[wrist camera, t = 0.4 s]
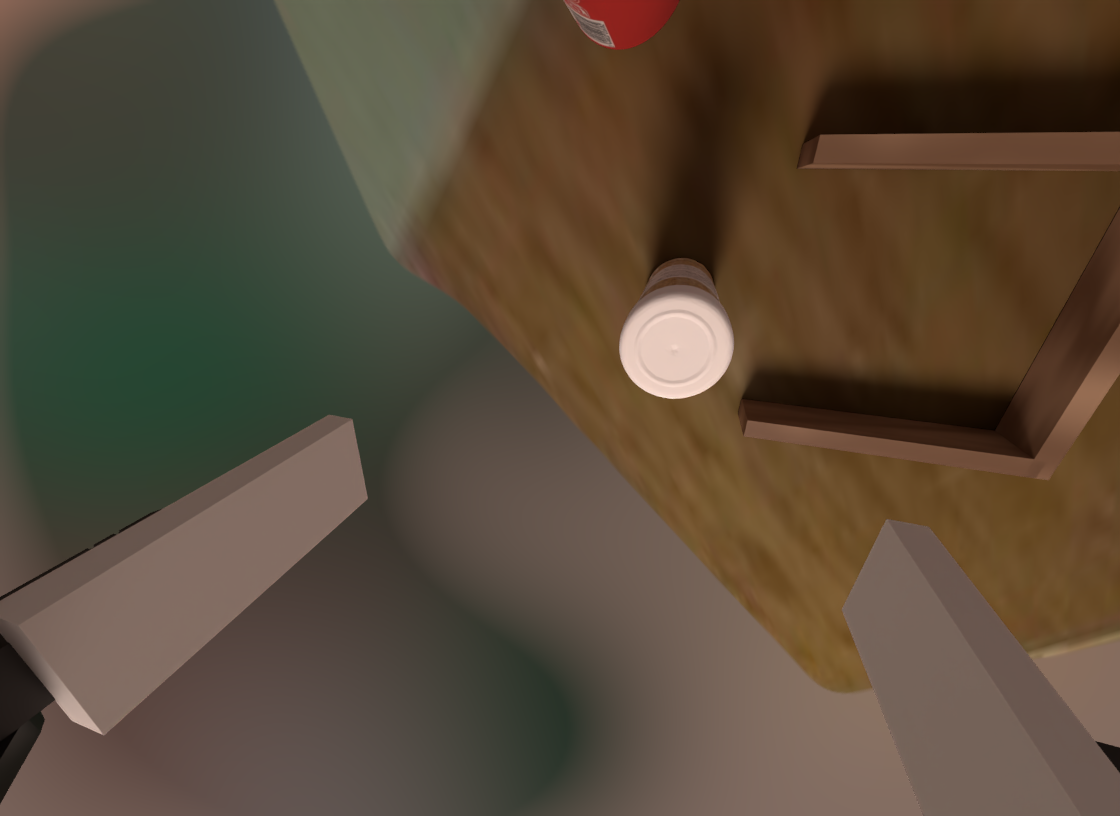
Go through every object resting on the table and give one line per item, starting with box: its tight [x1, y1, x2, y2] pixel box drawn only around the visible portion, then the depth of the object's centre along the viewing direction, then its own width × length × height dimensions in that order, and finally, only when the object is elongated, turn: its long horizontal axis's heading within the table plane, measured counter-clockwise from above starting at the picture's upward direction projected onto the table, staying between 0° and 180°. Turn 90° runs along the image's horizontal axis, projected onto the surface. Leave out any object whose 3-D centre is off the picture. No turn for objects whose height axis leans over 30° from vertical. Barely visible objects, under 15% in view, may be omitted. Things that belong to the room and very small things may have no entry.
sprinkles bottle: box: [619, 258, 734, 399], centre depth 22 cm, size 5×5×13 cm
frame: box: [738, 132, 1120, 480], centre depth 24 cm, size 17×17×4 cm
